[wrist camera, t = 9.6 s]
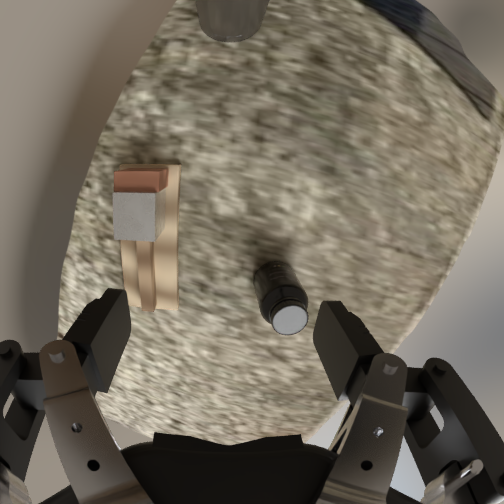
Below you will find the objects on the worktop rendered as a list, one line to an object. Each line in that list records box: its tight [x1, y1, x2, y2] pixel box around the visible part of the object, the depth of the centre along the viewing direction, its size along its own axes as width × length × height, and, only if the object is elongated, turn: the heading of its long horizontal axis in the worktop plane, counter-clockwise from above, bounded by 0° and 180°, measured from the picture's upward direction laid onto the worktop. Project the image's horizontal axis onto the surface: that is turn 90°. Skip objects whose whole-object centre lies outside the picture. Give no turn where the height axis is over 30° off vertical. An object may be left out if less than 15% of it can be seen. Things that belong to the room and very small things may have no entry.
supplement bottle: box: [254, 262, 308, 335], centre depth 39 cm, size 7×7×12 cm
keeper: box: [113, 188, 166, 242], centre depth 33 cm, size 6×6×6 cm
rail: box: [114, 164, 181, 312], centre depth 37 cm, size 23×9×7 cm, turn 174°
